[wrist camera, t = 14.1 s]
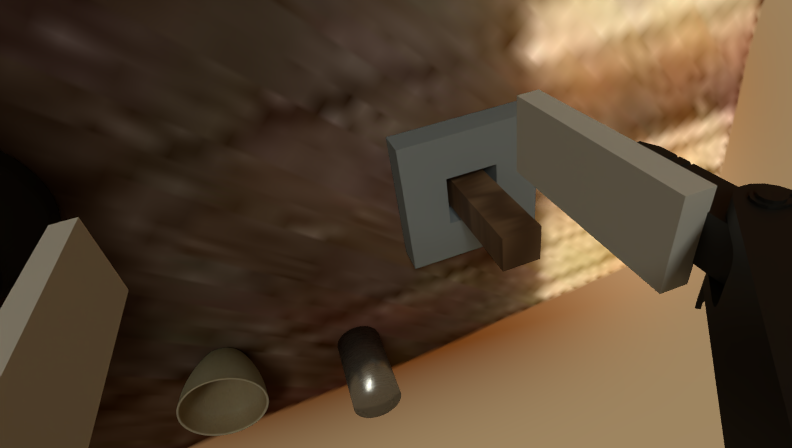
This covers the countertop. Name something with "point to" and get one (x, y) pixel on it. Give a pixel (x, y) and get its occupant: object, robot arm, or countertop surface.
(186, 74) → the countertop surface
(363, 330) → the round bit
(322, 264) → the countertop surface
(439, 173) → the socket plate
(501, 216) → the wooden square peg
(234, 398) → the flower pot
